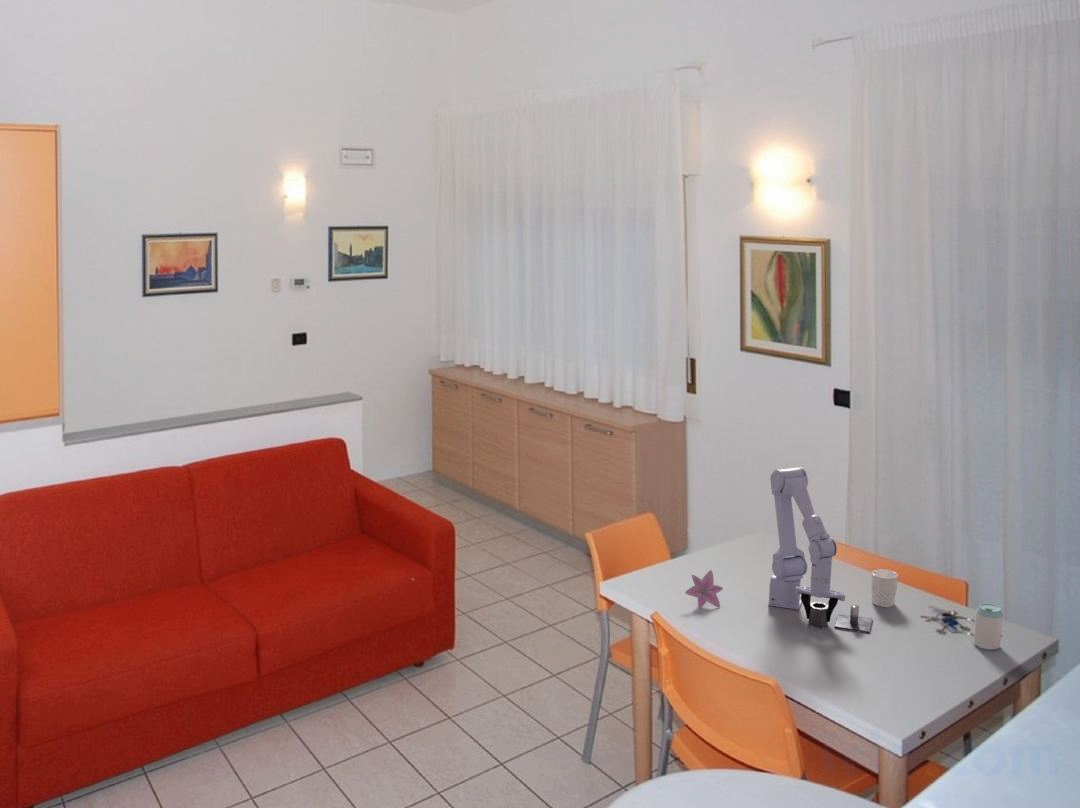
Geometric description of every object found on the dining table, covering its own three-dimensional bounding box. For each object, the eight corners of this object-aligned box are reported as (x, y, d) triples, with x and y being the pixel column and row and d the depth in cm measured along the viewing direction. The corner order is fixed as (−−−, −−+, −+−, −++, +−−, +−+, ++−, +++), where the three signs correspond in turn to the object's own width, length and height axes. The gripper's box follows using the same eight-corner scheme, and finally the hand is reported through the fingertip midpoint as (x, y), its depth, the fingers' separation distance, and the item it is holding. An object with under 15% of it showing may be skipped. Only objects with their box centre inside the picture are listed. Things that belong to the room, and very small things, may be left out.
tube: (807, 626, 305) (808, 607, 304) (810, 619, 310) (811, 600, 309) (826, 629, 303) (827, 610, 302) (828, 622, 308) (829, 603, 307)
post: (834, 628, 304) (835, 610, 302) (838, 615, 313) (839, 597, 311) (869, 633, 300) (870, 615, 299) (872, 620, 309) (873, 602, 308)
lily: (678, 609, 320) (687, 589, 314) (684, 583, 329) (693, 563, 324) (714, 622, 319) (724, 603, 313) (719, 595, 329) (728, 576, 323)
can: (1004, 651, 288) (1008, 611, 286) (980, 652, 288) (984, 612, 285) (991, 640, 295) (995, 601, 293) (968, 641, 295) (972, 602, 292)
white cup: (897, 609, 317) (899, 579, 315) (871, 607, 319) (873, 577, 317) (894, 599, 325) (896, 570, 323) (868, 597, 326) (870, 568, 324)
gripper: (794, 578, 302) (792, 620, 305) (844, 585, 297) (841, 628, 300) (797, 570, 309) (795, 611, 312) (846, 576, 303) (844, 619, 306)
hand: (818, 619), depth 306 cm, fingers closed on tube, 5 cm apart
